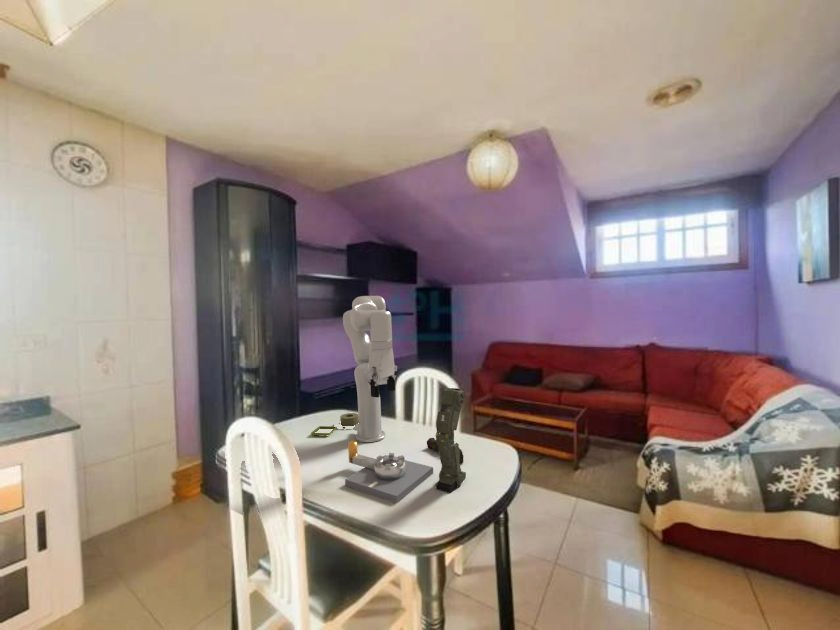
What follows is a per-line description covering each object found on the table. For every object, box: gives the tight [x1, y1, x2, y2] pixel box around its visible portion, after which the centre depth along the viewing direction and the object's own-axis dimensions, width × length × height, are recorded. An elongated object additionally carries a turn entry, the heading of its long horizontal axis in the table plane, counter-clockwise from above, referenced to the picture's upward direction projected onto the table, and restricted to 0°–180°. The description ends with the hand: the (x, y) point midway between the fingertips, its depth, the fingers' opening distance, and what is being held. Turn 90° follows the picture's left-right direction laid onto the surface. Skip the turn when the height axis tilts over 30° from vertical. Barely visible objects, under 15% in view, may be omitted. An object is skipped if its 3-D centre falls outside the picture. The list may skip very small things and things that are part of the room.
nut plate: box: [344, 454, 434, 504], centre depth 112 cm, size 20×20×2 cm
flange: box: [339, 412, 359, 426], centre depth 167 cm, size 5×15×15 cm
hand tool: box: [426, 437, 464, 464], centre depth 128 cm, size 19×4×5 cm, turn 33°
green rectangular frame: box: [310, 425, 337, 436], centre depth 156 cm, size 9×9×2 cm
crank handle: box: [347, 440, 406, 480], centre depth 115 cm, size 22×10×7 cm, turn 57°
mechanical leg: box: [435, 387, 467, 494], centre depth 109 cm, size 14×7×30 cm, turn 148°
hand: (383, 393), depth 124 cm, fingers open, 9 cm apart
